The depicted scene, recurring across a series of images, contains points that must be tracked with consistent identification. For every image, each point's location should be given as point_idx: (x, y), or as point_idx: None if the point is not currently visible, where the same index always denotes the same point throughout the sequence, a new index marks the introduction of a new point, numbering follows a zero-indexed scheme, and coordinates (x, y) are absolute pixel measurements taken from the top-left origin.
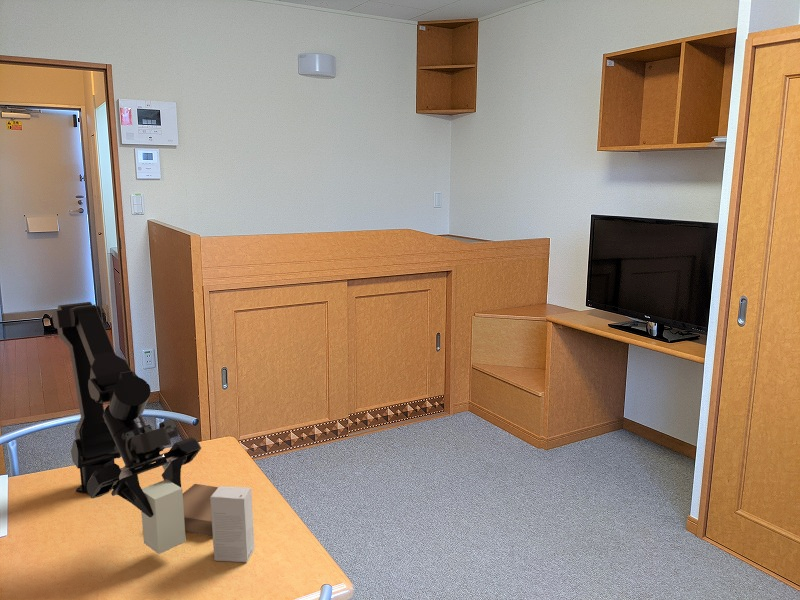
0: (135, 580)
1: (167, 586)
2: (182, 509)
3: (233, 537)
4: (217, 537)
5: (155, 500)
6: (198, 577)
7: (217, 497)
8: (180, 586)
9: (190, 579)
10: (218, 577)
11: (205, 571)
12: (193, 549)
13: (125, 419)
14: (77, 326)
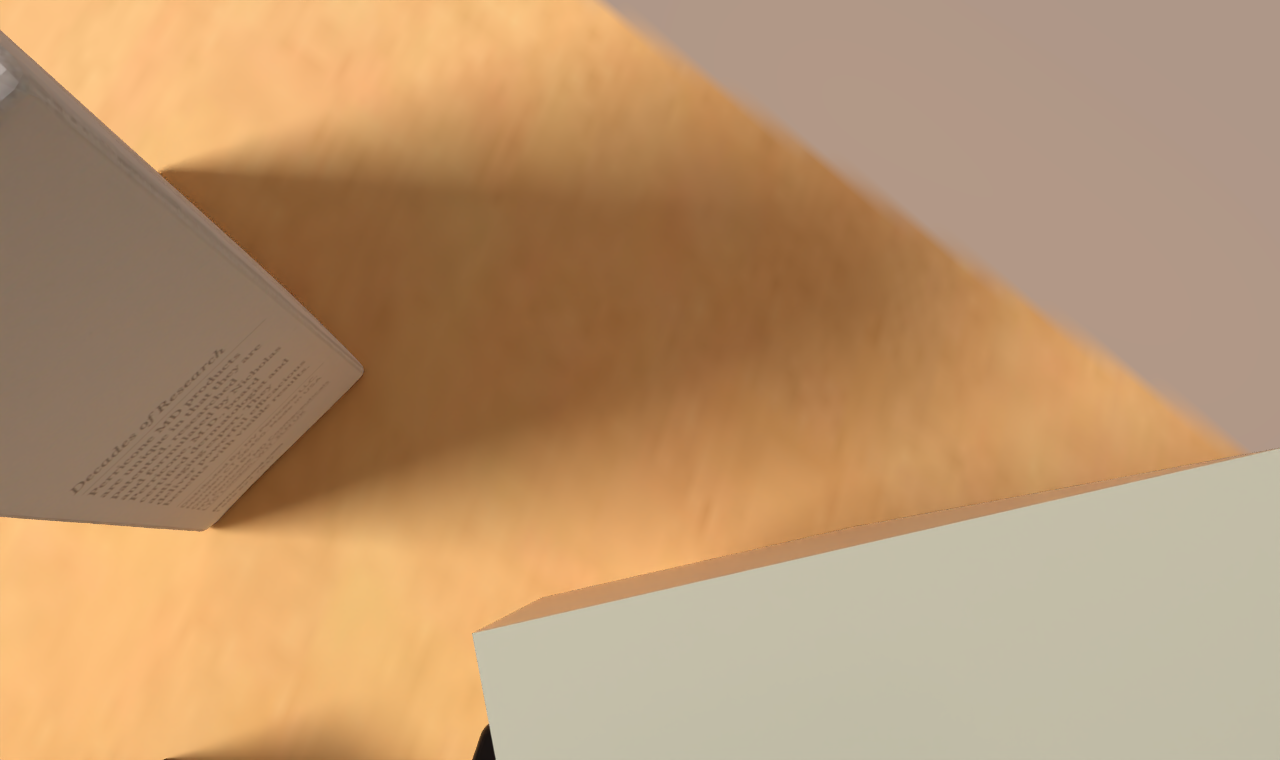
0: None
1: (824, 263)
2: (538, 605)
3: (119, 140)
4: (263, 272)
5: (1251, 453)
6: (575, 228)
7: None
8: (737, 202)
9: (639, 242)
10: (440, 131)
11: (494, 273)
12: (449, 682)
13: None
14: None
